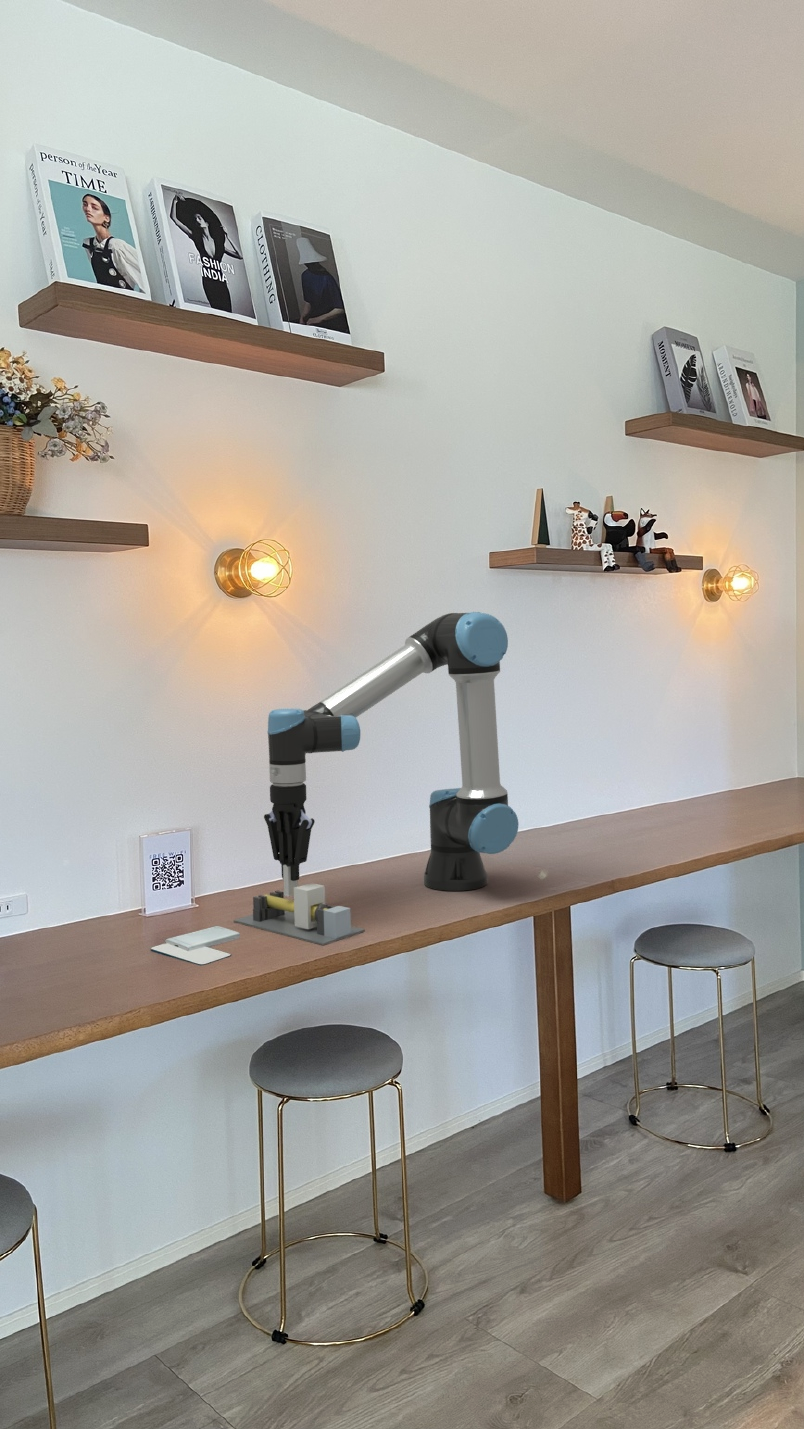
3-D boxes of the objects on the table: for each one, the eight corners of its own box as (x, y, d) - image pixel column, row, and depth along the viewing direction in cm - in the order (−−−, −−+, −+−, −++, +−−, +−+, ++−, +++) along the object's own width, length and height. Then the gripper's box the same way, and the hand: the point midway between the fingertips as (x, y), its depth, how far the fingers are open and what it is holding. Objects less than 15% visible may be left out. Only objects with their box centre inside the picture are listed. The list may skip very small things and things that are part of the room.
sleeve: (294, 925, 218) (293, 887, 218) (312, 920, 222) (311, 882, 221) (308, 929, 216) (307, 890, 215) (325, 923, 219) (324, 885, 219)
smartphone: (233, 959, 203) (180, 942, 213) (233, 954, 203) (180, 938, 213) (201, 970, 197) (148, 952, 207) (201, 965, 197) (147, 948, 207)
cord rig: (233, 921, 226) (232, 894, 225) (275, 909, 235) (275, 883, 234) (323, 945, 208) (322, 916, 208) (364, 931, 217) (364, 903, 217)
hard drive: (216, 925, 220) (164, 938, 211) (240, 932, 214) (187, 946, 205) (216, 932, 220) (164, 946, 211) (240, 940, 214) (188, 954, 205)
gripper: (253, 783, 221) (256, 893, 223) (296, 788, 213) (300, 903, 215) (279, 778, 227) (282, 886, 229) (323, 783, 219) (325, 895, 221)
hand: (291, 894), depth 222 cm, fingers closed
